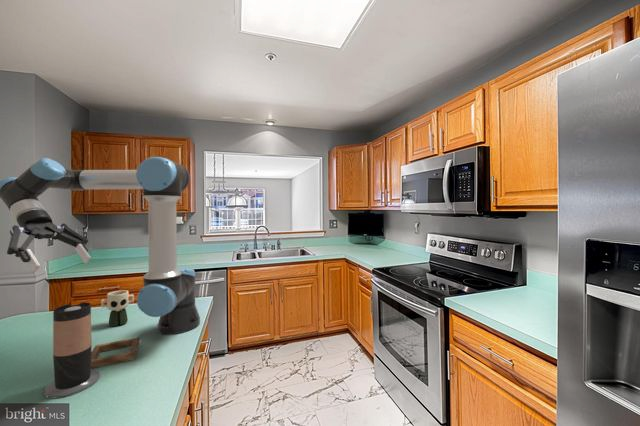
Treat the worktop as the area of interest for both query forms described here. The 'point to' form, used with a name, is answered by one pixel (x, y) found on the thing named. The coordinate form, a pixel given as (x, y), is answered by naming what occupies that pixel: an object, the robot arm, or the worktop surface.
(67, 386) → the travel mug
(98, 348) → the walnut frame
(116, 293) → the character mug
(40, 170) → the robot arm
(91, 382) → the slate coaster
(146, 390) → the worktop surface
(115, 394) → the worktop surface
